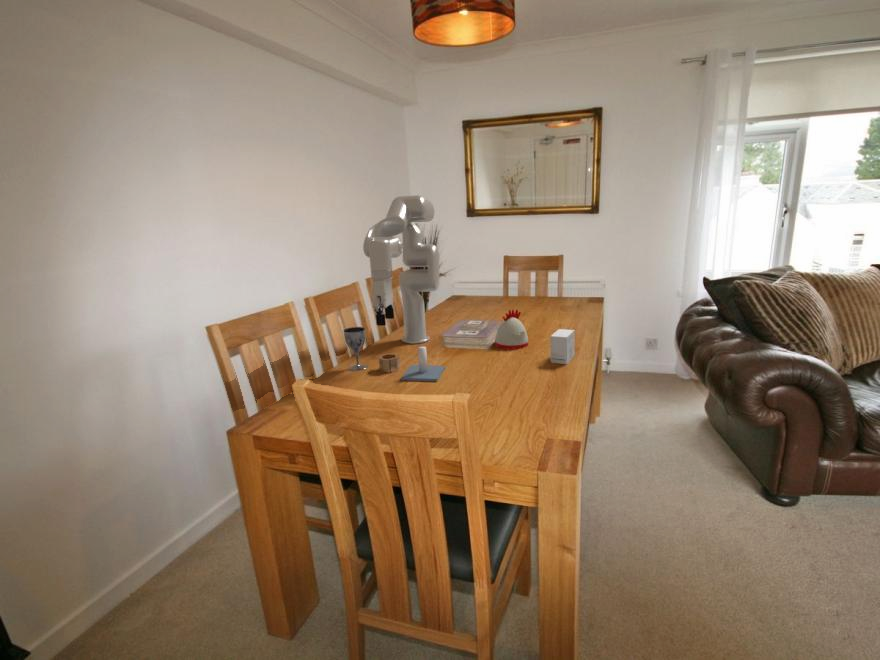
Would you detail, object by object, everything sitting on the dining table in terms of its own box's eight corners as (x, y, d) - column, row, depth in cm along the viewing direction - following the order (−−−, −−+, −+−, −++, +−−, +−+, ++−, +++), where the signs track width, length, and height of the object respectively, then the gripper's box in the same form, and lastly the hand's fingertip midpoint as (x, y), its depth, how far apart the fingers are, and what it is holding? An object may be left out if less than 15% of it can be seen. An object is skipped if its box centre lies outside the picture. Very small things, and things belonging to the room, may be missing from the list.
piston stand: (410, 367, 174) (409, 342, 171) (444, 368, 171) (443, 342, 168) (401, 380, 161) (399, 353, 159) (437, 381, 159) (436, 353, 156)
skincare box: (558, 354, 181) (558, 328, 178) (574, 356, 177) (575, 329, 174) (549, 362, 172) (550, 335, 169) (566, 364, 169) (567, 337, 166)
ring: (383, 365, 177) (382, 353, 176) (401, 366, 175) (400, 353, 174) (377, 372, 170) (376, 359, 169) (396, 372, 169) (395, 359, 167)
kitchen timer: (534, 346, 192) (534, 310, 188) (505, 351, 187) (505, 315, 183) (517, 337, 204) (517, 304, 200) (489, 342, 200) (488, 308, 196)
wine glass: (348, 372, 172) (344, 333, 168) (346, 365, 179) (342, 328, 175) (369, 369, 174) (366, 330, 170) (367, 362, 181) (363, 325, 177)
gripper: (379, 271, 172) (383, 316, 177) (362, 278, 156) (367, 328, 160) (399, 271, 171) (402, 316, 175) (384, 278, 154) (388, 328, 159)
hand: (385, 321), depth 168 cm, fingers open, 9 cm apart
